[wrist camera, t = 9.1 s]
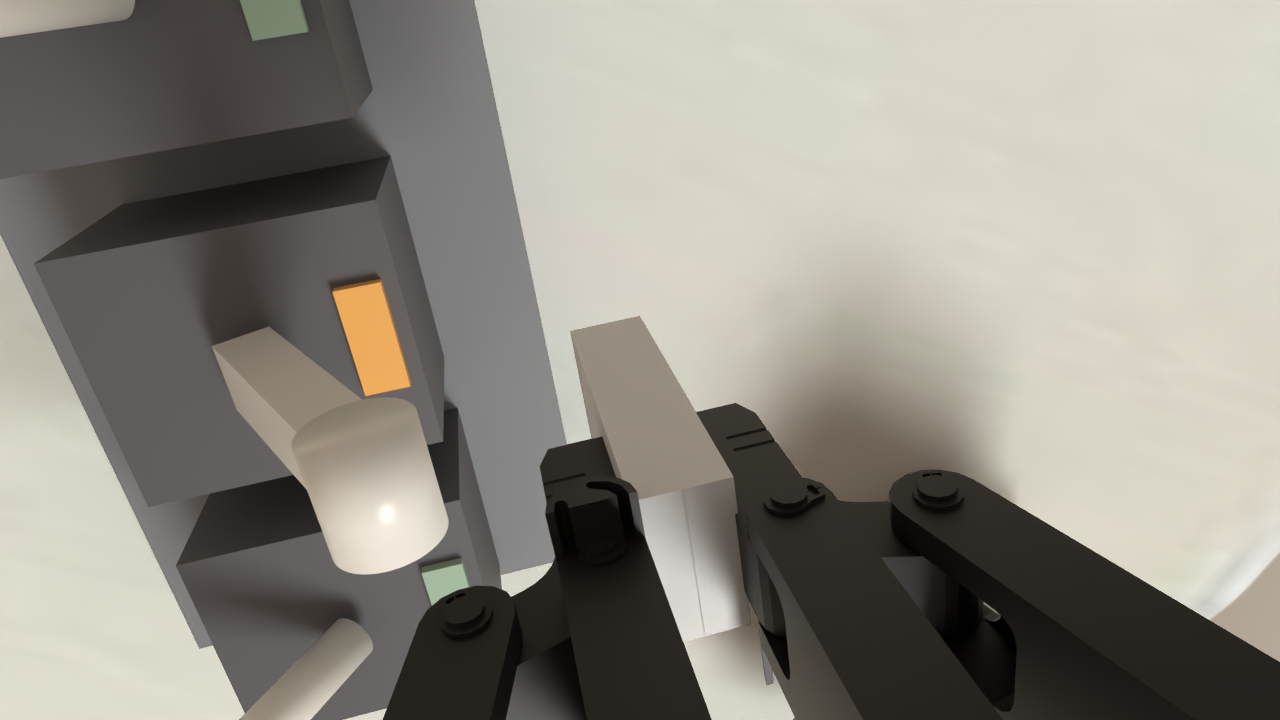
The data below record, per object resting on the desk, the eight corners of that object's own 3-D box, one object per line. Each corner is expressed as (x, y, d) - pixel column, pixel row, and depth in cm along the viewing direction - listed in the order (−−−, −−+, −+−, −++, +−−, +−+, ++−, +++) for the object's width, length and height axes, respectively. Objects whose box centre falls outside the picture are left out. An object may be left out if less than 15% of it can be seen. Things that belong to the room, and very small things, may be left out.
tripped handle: (281, 310, 22) (437, 421, 15) (309, 393, 23) (468, 532, 16) (190, 340, 21) (315, 476, 14) (225, 426, 22) (357, 592, 15)
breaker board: (430, -200, 26) (401, -476, 10) (579, 511, 37) (672, 893, 21) (-109, -129, 24) (-1139, -337, 8) (219, 597, 35) (35, 1083, 19)
